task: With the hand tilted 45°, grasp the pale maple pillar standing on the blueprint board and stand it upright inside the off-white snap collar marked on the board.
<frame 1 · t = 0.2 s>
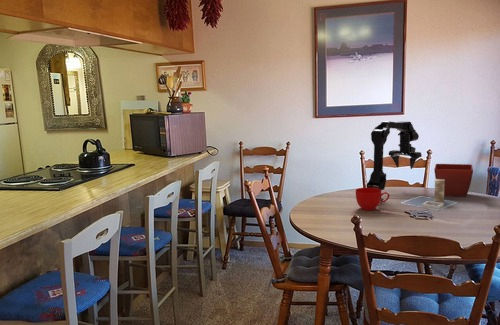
hand: (404, 168, 237), 15 cm above the table, tool pointing down, fingers open, 9 cm apart
blueprint board: (428, 204, 208), on the table
snap collar: (433, 206, 201), resting on blueprint board
maple pillar: (439, 202, 208), point 1 cm above the table, touching blueprint board
ceramic cup: (372, 209, 205), on the table
plant pot: (452, 195, 225), on the table
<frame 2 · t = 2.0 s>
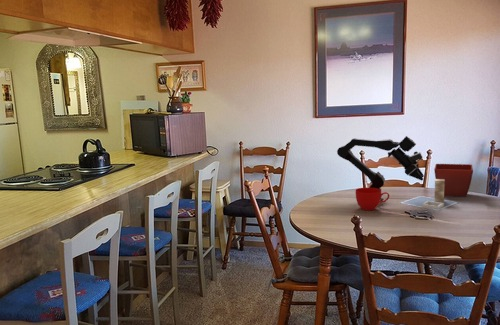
hand: (423, 178, 210), 14 cm above the table, tool tilted 45°, fingers open, 9 cm apart
nothing on the table moved.
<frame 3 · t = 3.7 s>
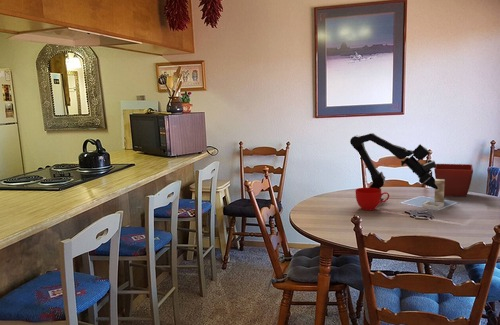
hand: (437, 186, 207), 9 cm above the table, tool tilted 45°, fingers open, 9 cm apart
nothing on the table moved.
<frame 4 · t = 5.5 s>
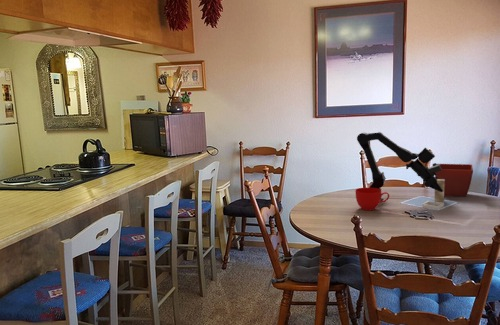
hand: (442, 190, 207), 7 cm above the table, tool tilted 45°, fingers closed on maple pillar, 4 cm apart
maple pillar: (439, 202, 208), point 1 cm above the table, touching blueprint board, gripper
everything else where it was.
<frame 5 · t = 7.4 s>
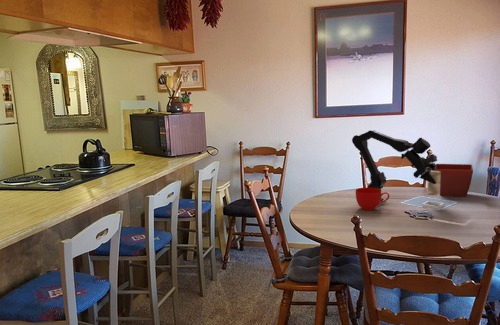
hand: (437, 182, 198), 13 cm above the table, tool tilted 45°, fingers closed on maple pillar, 4 cm apart
maple pillar: (433, 194, 200), point 7 cm above the table, touching gripper
everything else where it was.
when the fingers open (9 cm above the table, at t = 9.5 s): maple pillar drops 2 cm, resting on blueprint board.
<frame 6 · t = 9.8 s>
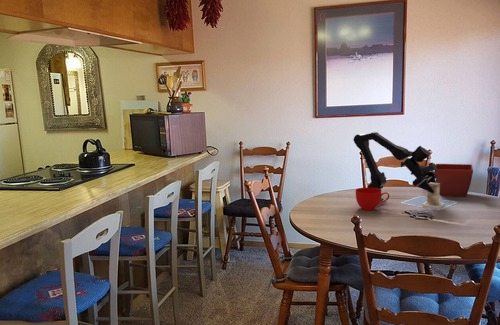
hand: (436, 191, 199), 9 cm above the table, tool tilted 45°, fingers open, 8 cm apart
maple pillar: (433, 206, 201), point 1 cm above the table, touching blueprint board
everything else where it was.
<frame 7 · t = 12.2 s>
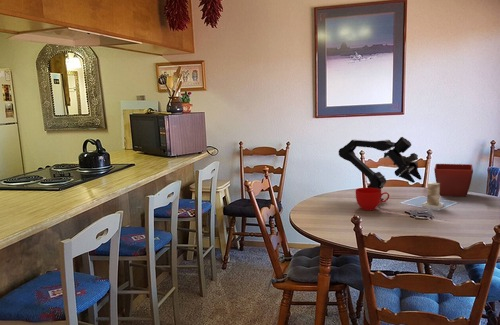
hand: (417, 180, 204), 14 cm above the table, tool tilted 45°, fingers open, 9 cm apart
nothing on the table moved.
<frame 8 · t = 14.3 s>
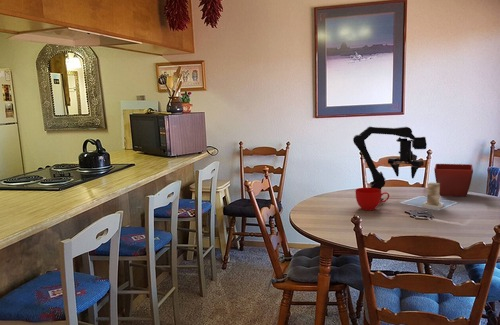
hand: (405, 177, 217), 13 cm above the table, tool pointing down, fingers open, 9 cm apart
nothing on the table moved.
at the end: maple pillar 0.0 cm from the target spot, point 1.0 cm above the table; maple pillar tilted 0°; the gripper is holding nothing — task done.
